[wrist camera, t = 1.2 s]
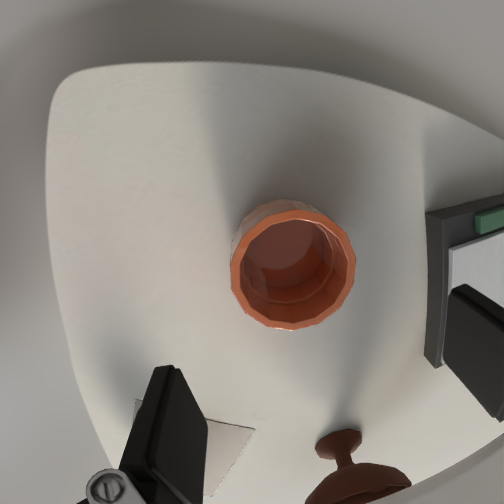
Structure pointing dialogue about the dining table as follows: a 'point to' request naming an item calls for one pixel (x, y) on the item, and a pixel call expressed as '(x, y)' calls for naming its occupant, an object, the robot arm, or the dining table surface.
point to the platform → (219, 451)
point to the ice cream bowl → (353, 474)
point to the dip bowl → (290, 265)
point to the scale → (462, 261)
